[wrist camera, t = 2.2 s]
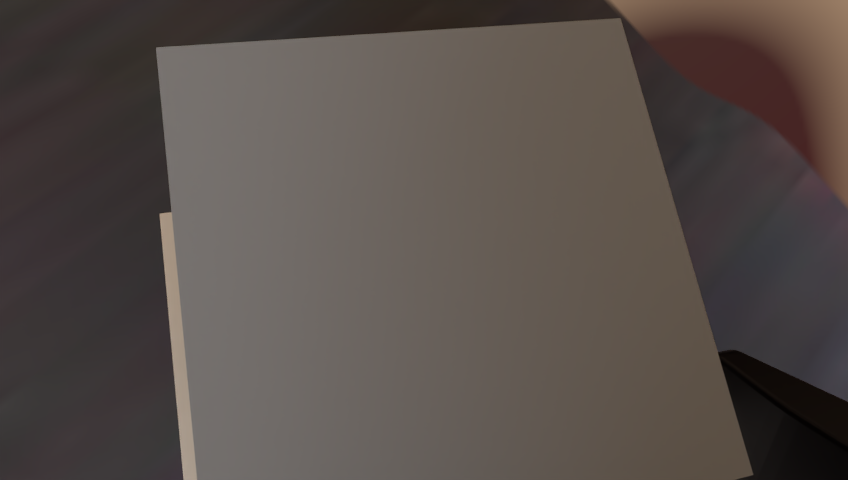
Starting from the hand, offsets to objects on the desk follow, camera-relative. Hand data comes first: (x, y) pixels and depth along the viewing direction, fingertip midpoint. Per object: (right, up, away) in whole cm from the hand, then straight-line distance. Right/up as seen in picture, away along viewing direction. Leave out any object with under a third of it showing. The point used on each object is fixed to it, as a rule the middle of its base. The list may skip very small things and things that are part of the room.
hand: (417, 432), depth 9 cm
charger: (-2, -1, +9) cm, 10 cm away
